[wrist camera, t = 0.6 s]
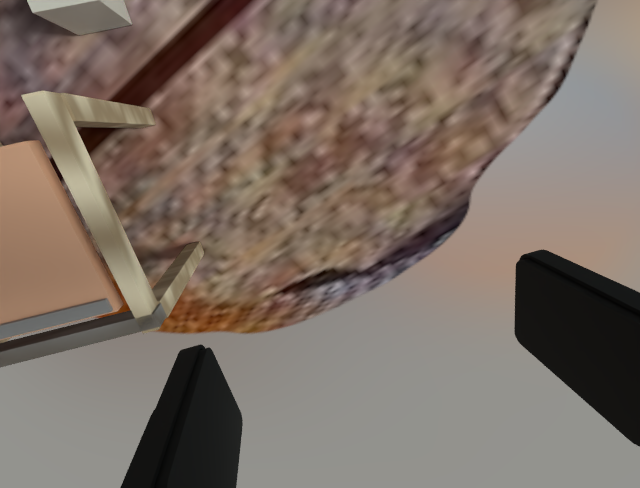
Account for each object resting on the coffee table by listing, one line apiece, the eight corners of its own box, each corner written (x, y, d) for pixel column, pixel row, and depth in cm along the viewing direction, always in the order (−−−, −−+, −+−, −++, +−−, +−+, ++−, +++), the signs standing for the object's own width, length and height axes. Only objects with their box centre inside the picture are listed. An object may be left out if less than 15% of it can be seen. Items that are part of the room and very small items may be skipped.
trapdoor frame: (-17, 143, 31) (-272, 155, 16) (149, 108, 32) (46, 89, 17) (66, 286, 37) (-67, 386, 22) (204, 253, 38) (161, 328, 23)
